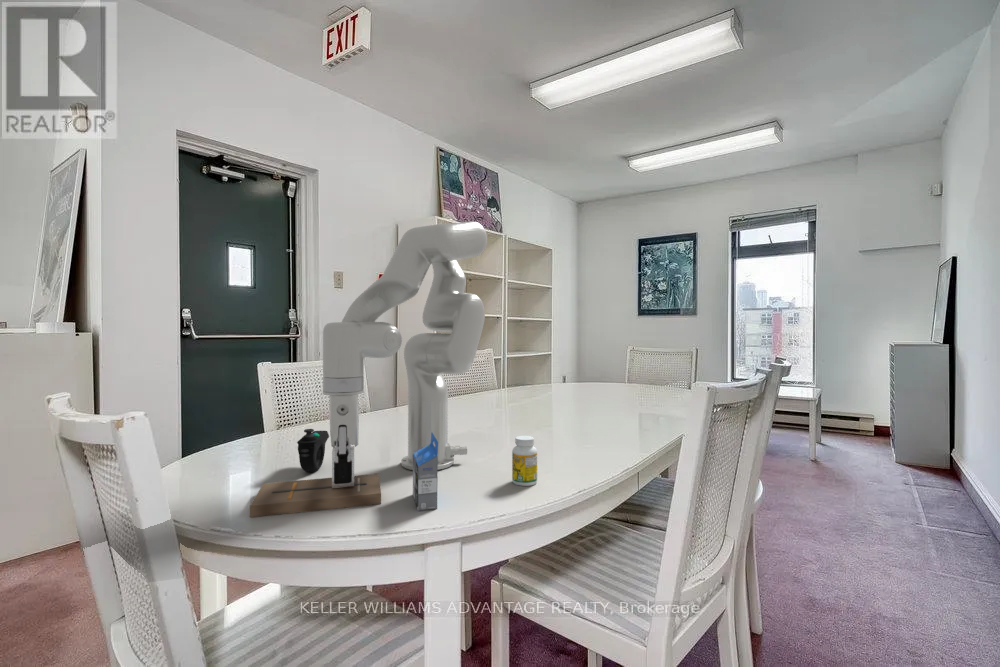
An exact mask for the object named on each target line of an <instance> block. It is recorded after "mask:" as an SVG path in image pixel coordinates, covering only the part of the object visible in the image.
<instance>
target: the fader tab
mask: <svg viewBox="0 0 1000 667" xmlns="http://www.w3.org/2000/svg"><path fill="white" fill-rule="evenodd" d="M331 451H332V452H331V478H332V488H339V487H350V486H354V476H355V445H351V450H350V461H352V482H351V483H343V484H335V483H334V462H335V448H333V447H332V450H331ZM338 451H339V450H338ZM346 451H348V449H346ZM347 459H348V456H347ZM347 462H348V460H347Z"/></svg>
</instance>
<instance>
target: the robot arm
mask: <svg viewBox="0 0 1000 667" xmlns="http://www.w3.org/2000/svg"><path fill="white" fill-rule="evenodd" d="M487 245H488V233H487V231H486V229H485V228H484V227H483V225H482V224H481V223H479V222H477V221H474V220H473V221H464V222H454V223H452V222H451V223H438V224H431V225H423V226H416V227H413V228H409V229H407V231H405V233H403V235H402V237H401V239H400V240H399V242H398V244H397V246H396V248H395V250H394V252H393V254H392V256H391V258H390V260H389V262H388V263H387V266H386V268H385V270H384V272H383V273H382V275H381V276H380V277H379V278H377V280H376V281H374V282H373V283H372V284H371V285H370V286H368V288H366V289H365V290H364V291H363V292H362V293H361V294H359V295H358V296H357V297H356V299H354V301H353V302H352V303H351V305H350V306H349V307H348V309H347V311H346V313H345V314H344V317H343V319H342V320H341V321H340V322H338V321H337V322H336V321H335V322H329V323H326V324H325V325H324V327H323V328H322V329H323V330H322V395H324V396H329V401H328V402H329V406H328V408H329V433H330V434H329V437H330V445H331V448H332V449H333V448H335V462H334V483H335V484H343V483H351V482H352V461H350V450H351V446H354V448H355V447H358V445H359V433H360V432H359V430H360V429H359V420H360V418H359V416H360V412H359V408H360V406H359V395H362V394H364V378H365V376H364V374H365V373H364V368H365V367H364V361H365V360H364V359H365V358H369V359H387V358H389V357H392V356H394V355H395V354H397V353H398V352H399V350H400V348H401V346H402V341H403V340H402V339H403V338H402V334H401V332H400V330H399V329H398V328H397V327H396V326H395V325H394V324H391V323H389V322H385V321H377V320H378V319H379V318H380V317H381V316H382V315H384V314H385V313H386V312H388V311H389V310H391V309H393V308H395V307H397V306H400V305H401V304H403V303H406V302H407V301H410V300H412V299H413V298H414V297H415V296H416V295H417V294H418V293H419V290H420V287H421V285H422V283H423V281H424V280H425V276H426V275H427V273H428V270H429V268H430V267H431V266H432V269H433V277H432V282H431V286H430V289H429V292H428V295H427V297H426V301H425V305H424V308H423V312H422V323H423V324H424V327H426V328H427V329H428V330H430V331H433V333H432V332H427V333H426V332H424V333H418V334H416V335H413V336H411V337H410V338H409V339H408V340H407V341H406V344H405V345H404V348H403V349H404V350H403V358H404V364H405V368H406V369H405V370H406V376H407V385H408V386H407V395H408V396H407V399H408V400H407V403H408V404H407V410H408V411H407V412H408V413H407V420H408V421H407V432H408V433H407V455H406V456H404V457H403V458H402V459H401V462H400V464H401V467H402V468H404V469H407V470H411V471H413V453H414V452H416V451H418V450H420V449H422V448H424V447H426V446H428V445H429V444H430V443H431V432H432V433H433V434H434V436H435V437H436V439H437V441H438V466H437V471H440V470H443V469H444V470H445V469H447V468H450V467H451V466H452V465H454V463H455V458H454V457H455V456H456V455H457V456H463V455H465V456H466V455H467V454H468V447H467V446H461V445H454V446H453V445H452V446H451V445H450V443H449V441H448V439H449V438H448V437H449V436H448V435H449V433H448V432H449V431H448V430H449V428H448V427H449V425H448V424H449V422H448V421H449V418H448V417H449V413H448V412H449V392H448V390H449V389H448V386H447V383H446V380H445V378H444V376H443V375H455V376H457V375H463V374H465V373H467V372H468V371H470V369H471V368H472V366H473V364H474V361H475V359H476V355H477V352H478V351H477V350H478V347H479V343H480V340H481V337H482V332H483V329H484V325H485V320H486V314H485V313H486V311H485V306H484V303H483V300H482V299H481V298H480V297H479V296H478V294H475V293H471V292H465V291H466V286H467V278H466V275H465V273H464V271H463V269H462V267H461V266H460V264H459V262H458V261H461V260H465V259H469V258H474V257H475V258H476V257H479V256H480V255H482V253H483V252H484V251H485V250H486V248H487ZM439 332H441V333H439ZM442 332H443V333H442ZM433 445H434V446H435V443H434V442H433ZM346 449H348V451H346ZM338 450H339V451H338ZM347 456H348V459H347ZM347 460H348V462H347Z"/></svg>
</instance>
